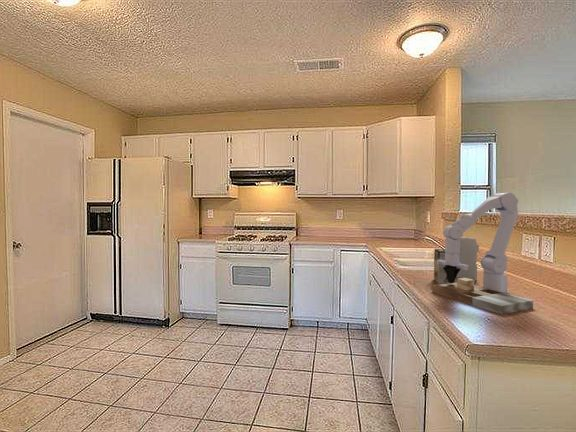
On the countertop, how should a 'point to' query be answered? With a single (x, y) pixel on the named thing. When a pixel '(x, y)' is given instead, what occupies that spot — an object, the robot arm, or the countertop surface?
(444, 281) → the coffee box
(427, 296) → the countertop surface
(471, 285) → the block
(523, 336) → the countertop surface
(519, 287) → the countertop surface
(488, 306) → the trap board
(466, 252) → the grey upright slab
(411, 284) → the countertop surface
